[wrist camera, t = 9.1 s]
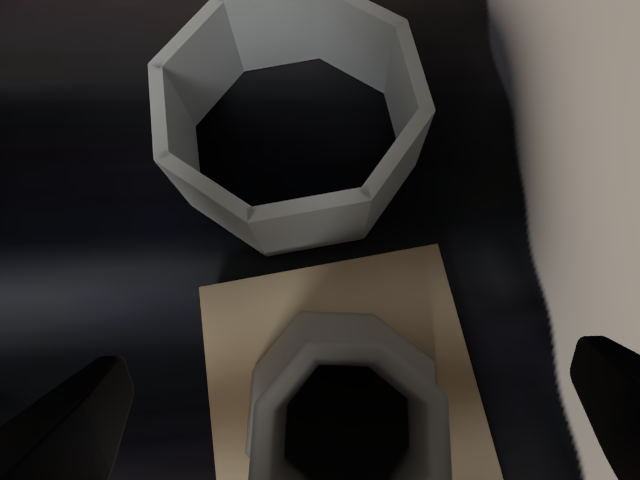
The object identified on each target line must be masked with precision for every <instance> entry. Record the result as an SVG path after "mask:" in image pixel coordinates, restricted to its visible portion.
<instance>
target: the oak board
mask: <svg viewBox="0 0 640 480" xmlns="http://www.w3.org/2000/svg"><path fill="white" fill-rule="evenodd" d="M199 292H200V303H201V314H202V326H203V337H204V348H205V359H206V370H207V381H208V392H209V403H210V414H211V425H212V436H213V447H214V458H215V470H216V480H248V474H249V462H250V458H249V457H248V456H247V455H246V454H245V448H246V436H247V424H248V413H249V401H250V389H251V377H252V370H253V369H254V367H255V366H256V365H257V364H258V362H259V361H260V360H261V359H262V358H263V356H264V355H265V354H266V353H267V351H268V350H269V349H270V348H271V347H272V345H273V344H274V343H275V342H276V340H277V339H278V338H279V337H280V336H281V334H282V333H283V332H284V331H285V330H286V328H287V327H288V326H289V325H290V323H291V322H292V321H293V320H294V319H295V317H296V316H297V315H298V314H299V312H300V311H310V312H339V313H369V314H375V315H376V316H377V317H379V318H380V319H381V320H382V321H384V322H385V323H386V324H388V325H389V326H390V327H391V328H393V329H394V330H395V331H396V332H398V333H399V334H400V335H402V336H403V337H404V338H405V339H407V340H408V341H409V342H411V343H412V344H413V345H414V346H416V347H417V348H418V349H419V350H421V351H422V352H423V353H425V354H426V355H427V356H428V357H430V358H431V359H432V360H433V361H435V374H436V385H437V386H438V387H440V388H441V389H442V390H443V391H445V392H446V393H447V394H448V403H449V423H450V443H451V463H452V480H503V476H502V472H501V469H500V465H499V462H498V458H497V455H496V451H495V447H494V444H493V440H492V437H491V433H490V430H489V426H488V422H487V419H486V415H485V412H484V408H483V404H482V401H481V397H480V394H479V390H478V387H477V383H476V379H475V376H474V372H473V369H472V365H471V362H470V358H469V354H468V351H467V347H466V344H465V340H464V336H463V333H462V329H461V326H460V322H459V319H458V315H457V311H456V308H455V304H454V301H453V297H452V293H451V290H450V286H449V283H448V279H447V276H446V272H445V268H444V265H443V261H442V258H441V254H440V251H439V247H438V244H433V245H427V246H422V247H416V248H411V249H405V250H400V251H394V252H389V253H383V254H378V255H373V256H367V257H362V258H356V259H351V260H345V261H340V262H334V263H329V264H323V265H318V266H312V267H307V268H301V269H296V270H290V271H285V272H279V273H274V274H268V275H263V276H257V277H252V278H246V279H241V280H236V281H230V282H225V283H219V284H214V285H208V286H203V287H199Z"/></svg>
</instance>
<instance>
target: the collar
mask: <svg viewBox="0 0 640 480" xmlns="http://www.w3.org/2000/svg"><path fill="white" fill-rule="evenodd" d="M319 58H320V59H321V60H323V61H325V62H327V63H329V64H331V65H332V66H334V67H336V68H338V69H340V70H342V71H343V72H345V73H347V74H349V75H351V76H353V77H354V78H356V79H358V80H360V81H362V82H364V83H365V84H367V85H369V86H371V87H373V88H375V89H377V90H378V91H380V92H382V93H384V96H385V99H386V103H387V107H388V111H389V114H390V118H391V122H392V125H393V129H394V133H395V137H396V140H395V142H394V143H393V144H392V146H391V147H390V149H389V150H388V151H387V153H386V154H385V156H384V157H383V158H382V160H381V161H380V162H379V164H378V165H377V167H376V168H375V169H374V171H373V172H372V173H371V175H370V176H369V178H368V179H367V180H366V182H365V183H364V184H363V186H362V187H359V188H354V189H348V190H342V191H337V192H331V193H326V194H320V195H315V196H309V197H303V198H298V199H292V200H287V201H281V202H275V203H270V204H264V205H259V206H253V207H252V206H250V205H249V204H247V203H246V202H244V201H242V200H241V199H239V198H238V197H236V196H235V195H233V194H232V193H230V192H229V191H227V190H226V189H224V188H223V187H221V186H220V185H218V184H217V183H215V182H214V181H212V180H211V179H209V178H208V177H206V176H204V175H203V174H201V173H200V167H199V157H198V147H197V136H196V125H197V124H198V123H199V122H200V121H201V120H202V119H203V117H204V116H205V115H206V114H207V113H208V112H209V111H210V110H211V108H212V107H213V106H214V105H215V104H216V103H217V102H218V100H219V99H220V98H221V97H222V96H223V95H224V94H225V93H226V91H227V90H228V89H229V88H230V87H231V86H232V85H233V84H234V82H235V81H236V80H237V79H238V78H239V77H240V76H241V74H242V73H243V72H244V71H249V70H255V69H261V68H266V67H272V66H278V65H284V64H290V63H295V62H301V61H307V60H313V59H319ZM148 77H149V93H150V109H151V125H152V141H153V157H154V161H155V162H156V163H157V165H158V166H159V167H160V168H161V169H162V171H163V172H164V173H165V174H166V175H167V177H168V178H169V179H170V180H171V181H172V183H173V184H174V185H175V186H176V187H177V189H178V190H179V191H180V192H181V194H182V195H183V196H184V197H185V198H186V200H187V201H188V202H189V203H190V204H191V205H192V206H193V207H194V208H196V209H197V210H199V211H200V212H202V213H203V214H205V215H206V216H208V217H209V218H211V219H212V220H213V221H215V222H216V223H218V224H219V225H221V226H222V227H224V228H225V229H227V230H228V231H230V232H231V233H233V234H234V235H235V236H237V237H238V238H240V239H241V240H243V241H244V242H246V243H247V244H249V245H250V246H252V247H253V248H255V249H256V250H257V251H259V252H260V253H262V254H263V255H265V256H272V255H278V254H283V253H289V252H295V251H300V250H306V249H311V248H317V247H322V246H328V245H333V244H339V243H344V242H350V241H355V240H361V239H364V238H365V237H366V236H367V234H368V233H369V231H370V230H371V228H372V227H373V226H374V224H375V223H376V221H377V220H378V218H379V217H380V215H381V214H382V213H383V211H384V210H385V208H386V207H387V205H388V204H389V203H390V201H391V200H392V198H393V197H394V195H395V194H396V192H397V191H398V190H399V188H400V187H401V185H402V184H403V182H404V181H405V180H406V178H407V177H408V175H409V174H410V172H411V171H412V170H413V168H414V167H415V165H416V162H417V160H418V157H419V154H420V151H421V149H422V146H423V143H424V140H425V138H426V135H427V132H428V129H429V127H430V124H431V121H432V118H433V116H434V113H435V107H434V104H433V101H432V97H431V94H430V91H429V88H428V84H427V81H426V78H425V75H424V72H423V68H422V65H421V62H420V59H419V55H418V52H417V49H416V46H415V43H414V39H413V36H412V33H411V30H410V26H409V23H408V20H407V19H405V18H403V17H401V16H399V15H397V14H395V13H393V12H391V11H389V10H387V9H385V8H383V7H381V6H379V5H377V4H375V3H373V2H371V1H369V0H209V1H208V2H207V3H206V4H205V5H204V6H203V7H202V8H201V9H200V10H199V11H198V12H197V14H196V15H195V16H194V17H193V18H192V19H191V20H190V21H189V22H188V23H187V24H186V25H185V26H184V27H183V28H182V29H181V30H180V31H179V32H178V33H177V34H176V35H175V36H174V37H173V38H172V39H171V40H170V41H169V42H168V44H167V45H166V46H165V47H164V48H163V49H162V50H161V51H160V52H159V53H158V54H157V55H156V56H155V57H154V58H153V59H152V60H151V61H150V62H149V63H148Z"/></svg>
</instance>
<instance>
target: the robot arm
mask: <svg viewBox="0 0 640 480" xmlns="http://www.w3.org/2000/svg"><path fill="white" fill-rule="evenodd" d="M570 376H571V380H572V383H573V385H574V387H575V389H576V392H577V394H578V396H579V399H580V401H581V403H582V405H583V408H584V409H585V412H586V414H587V416H588V419H589V421H590V423H591V426H592V428H593V430H594V433H595V435H596V437H597V439H598V442H599V444H600V446H601V448H602V450H603V452H604V454H605V456H606V458H607V460H608V462H609V464H610V466H611V467H612V469H613V471H614V473H615V475H616V476H617V478H618V480H640V355H639V354H637V353H635V352H634V351H632V350H630V349H628V348H626V347H624V346H622V345H620V344H618V343H616V342H614V341H613V340H610V339H609V338H606V337H604V336H584V337H581V338H580V339H579V340H578V342H577V345H576V349H575V352H574V356H573V360H572V363H571V367H570ZM133 394H134V388H133V383H132V380H131V377H130V374H129V371H128V368H127V365H126V362H125V360H124V358H123V357H122V356H118V355H115V356H101V357H99V358H97V359H96V360H94V361H93V362H91V363H90V364H88V365H87V366H86V367H84V368H83V369H81V370H80V371H78V372H77V373H76V374H74V375H73V376H71V377H70V378H68V379H67V380H66V381H64V382H63V383H61V384H60V385H58V386H57V387H56V388H54V389H53V390H51V391H50V392H48V393H47V394H46V395H44V396H43V397H41V398H40V399H38V400H37V401H36V402H34V403H33V404H31V405H30V406H28V407H27V408H26V409H24V410H23V411H21V412H20V413H18V414H17V415H16V416H14V417H13V418H11V419H10V420H8V421H7V422H5V423H4V424H3V425H1V426H0V480H108V479H109V477H110V474H111V471H112V468H113V465H114V462H115V458H116V455H117V451H118V448H119V444H120V441H121V437H122V434H123V430H124V427H125V423H126V420H127V417H128V413H129V410H130V406H131V403H132V399H133Z"/></svg>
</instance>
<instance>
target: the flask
mask: <svg viewBox="0 0 640 480" xmlns="http://www.w3.org/2000/svg"><path fill="white" fill-rule="evenodd" d="M245 454H246V455H247V456H248V457H249V458H250V462H249V474H248V480H452V463H451V443H450V423H449V403H448V394H447V393H446V392H445V391H443V390H442V389H441V388H440V387H438V386H437V385H436V374H435V361H433V360H432V359H431V358H430V357H428V356H427V355H426V354H425V353H423V352H422V351H421V350H419V349H418V348H417V347H416V346H414V345H413V344H412V343H411V342H409V341H408V340H407V339H405V338H404V337H403V336H402V335H400V334H399V333H398V332H396V331H395V330H394V329H393V328H391V327H390V326H389V325H388V324H386V323H385V322H384V321H382V320H381V319H380V318H379V317H377V316H376V315H375V314H369V313H339V312H310V311H300V312H299V314H298V315H297V316H296V317H295V319H294V320H293V321H292V322H291V323H290V325H289V326H288V327H287V328H286V330H285V331H284V332H283V333H282V334H281V336H280V337H279V338H278V339H277V340H276V342H275V343H274V344H273V345H272V347H271V348H270V349H269V350H268V351H267V353H266V354H265V355H264V356H263V358H262V359H261V360H260V361H259V362H258V364H257V365H256V366H255V367H254V369H253V370H252V377H251V389H250V401H249V413H248V424H247V436H246V448H245Z"/></svg>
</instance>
